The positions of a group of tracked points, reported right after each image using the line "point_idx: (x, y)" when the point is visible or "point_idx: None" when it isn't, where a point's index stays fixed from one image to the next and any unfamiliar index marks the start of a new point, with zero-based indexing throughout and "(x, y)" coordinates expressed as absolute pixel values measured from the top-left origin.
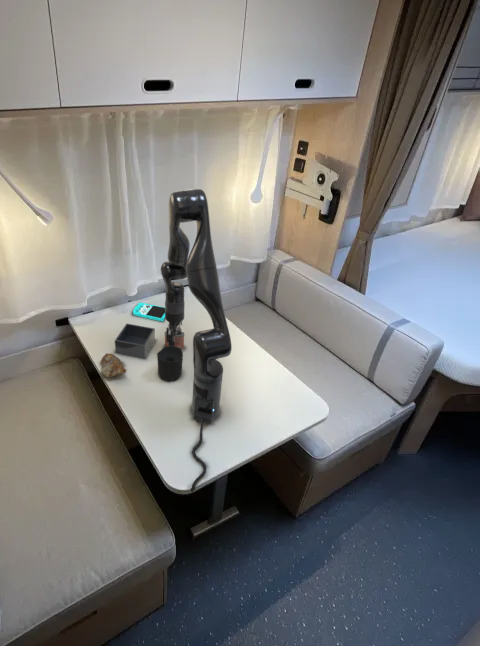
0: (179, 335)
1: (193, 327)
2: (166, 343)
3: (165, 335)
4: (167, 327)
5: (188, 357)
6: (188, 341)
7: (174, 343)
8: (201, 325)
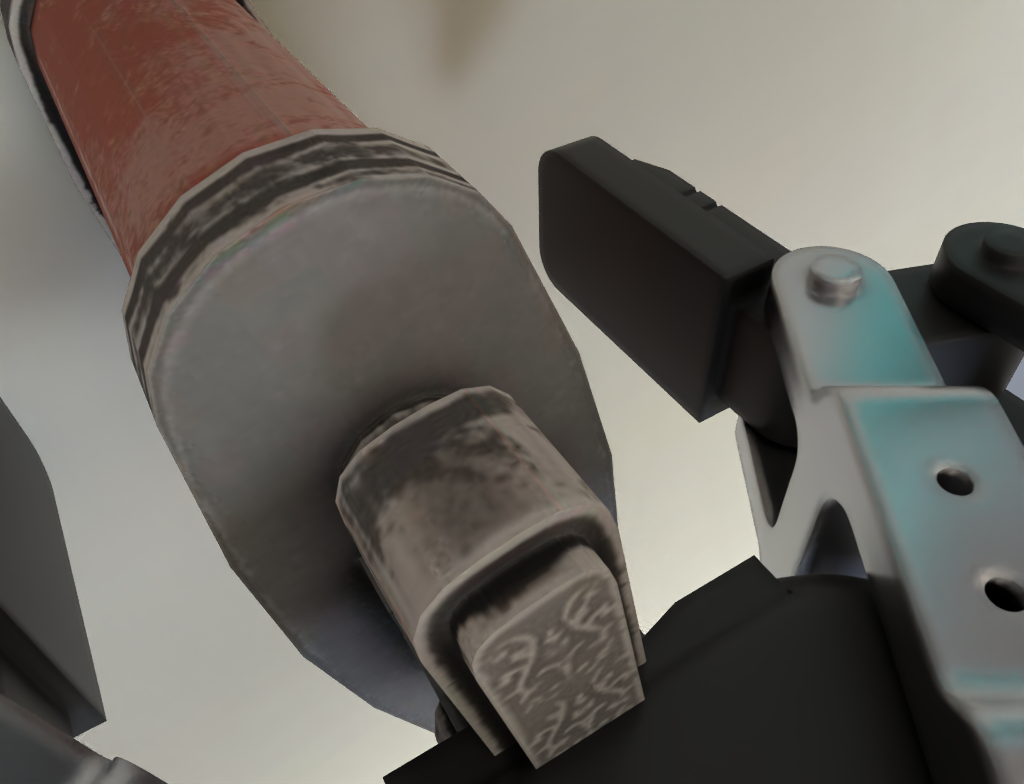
0: (409, 708)
1: (897, 141)
2: (61, 113)
3: (126, 304)
4: (606, 578)
5: (119, 584)
6: (553, 298)
7: (73, 596)
8: (927, 213)
